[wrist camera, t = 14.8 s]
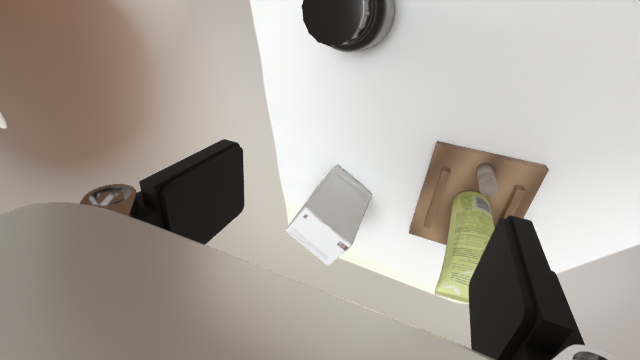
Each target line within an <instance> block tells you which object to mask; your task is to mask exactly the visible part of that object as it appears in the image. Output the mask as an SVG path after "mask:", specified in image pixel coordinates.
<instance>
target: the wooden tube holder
mask: <svg viewBox="0 0 640 360" xmlns="http://www.w3.org/2000/svg"><path fill="white" fill-rule="evenodd" d="M547 172H548V168H547V167H546V165H541V164H537V163H532V162H528V161H523V160H519V159H514V158H510V157H506V156H501V155H497V154H492V153H488V152H483V151H479V150H474V149H470V148H465V147H461V146H456V145H452V144H447V143H443V142H438V141H437V144H436V147H435V150H434V153H433V156H432V160H431V163H430V166H429V169H428V172H427V175H426V179H425V182H424V185H423V188H422V191H421V195H420V198H419V201H418V204H417V207H416V211H415V214H414V217H413V220H412V223H411V227H410V230H409V233H410V234H413V235H416V236H419V237H423V238H426V239H429V240H432V241H435V242H439V243H442V244H445V245H447V241H448V235H449V228H450V220H451V212H452V204H453V200H454V198H455V197H456V196H457V195H458V194H460V193H462V192H466V191H475V192H478V193H481V194H482V195H484V196H485V197H486V198H487V200H488V201H489V204H490V209H491V214H492V219H493V223H494V228H495V227H496V225H497V223H498V221H499V219H500V218H505V219H506V218H507V217H508V216H510V215H511V216H515V217H519V218H523V217H524V216H525V214H526V212H527V210H528V208H529V206H530V204H531V202H532V200H533V199H534V197H535V195H536V193H537V191H538V189H539V187H540V185H541V184H542V182H543V180H544V178H545V176H546V174H547Z"/></svg>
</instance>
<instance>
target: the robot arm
mask: <svg viewBox="0 0 640 360" xmlns="http://www.w3.org/2000/svg"><path fill="white" fill-rule="evenodd" d="M139 182H140V187H141V191H140V192H138V193H136V190H135V189H134V187H132V186H129V185H125V184H113V185H106V186H103V187H99V188H96V189H94V190H92V191H90V192H89V193H87V194H86V195H85V196H84V197H83V199H82V200H81V202H80V204H78V203H67V202H66V203H63V202H49V203H37V204H31V205H27V206H23V207H20V208H17V209H14V210H12V211H9V212H7V213H4V214H1V215H0V360H615V359H614V358H613V357H611V356H610V355H608V354H606V353H604V352H602V351H600V350H598V349H596V348H593V347H589V346H586V345H585V344H584V341H583V339H582V337H581V334H580V332H579V329H578V327H577V324H576V322H575V319H574V317H573V315H572V312H571V310H570V307H569V305H568V302H567V300H566V297H565V295H564V292H563V290H562V288H561V285H560V282H559V280H558V278H557V275H556V274H555V272H553V271H551V269H550V267H549V264H548V262H547V259H546V257H545V254H544V252H543V249H542V246H541V244H540V241H539V239H538V236H537V234H536V231H535V229H534V226H533V223H532V222H531V221H530V220H526V219H523V218H519V217H515V216H511V215H510V216H508V217H507V218H506V219H505V218H500V219H499V221H498V223H497V225H496V227H495V229H494V231H493V233H492V235H491V237H490V240H489V242H488V244H487V246H486V248H485V250H484V252H483V254H482V256H481V258H480V260H479V263H478V265H477V267H476V269H475V271H474V273H473V275H472V277H471V280H470V283H469V290H468V291H469V309H470V327H471V346H472V349H469V348H467V347H465V346H462V345H460V344H457V343H455V342H453V341H450V340H448V339H446V338H443V337H441V336H438V335H436V334H433V333H431V332H428V331H426V330H423V329H421V328H418V327H415V326H413V325H410V324H408V323H405V322H402V321H400V320H397V319H395V318H392V317H390V316H387V315H385V314H382V313H380V312H377V311H374V310H372V309H369V308H367V307H364V306H362V305H359V304H356V303H354V302H352V301H349V300H346V299H344V298H341V297H339V296H336V295H334V294H331V293H328V292H326V291H323V290H320V289H318V288H315V287H313V286H310V285H308V284H305V283H302V282H300V281H297V280H295V279H292V278H289V277H287V276H284V275H282V274H279V273H276V272H274V271H271V270H269V269H266V268H263V267H261V266H258V265H255V264H253V263H251V262H248V261H245V260H243V259H240V258H238V257H235V256H232V255H230V254H227V253H225V252H222V251H219V250H217V249H214V248H211V247H209V246H206V245H205V244H206V243H207V242H208V241H210V240H211V239H212V238H213V237H214V236H215V235H216V234H217V233H219V232H220V231H221V230H222V229H223V228H224V227H225V226H226V225H227V224H229V223H230V222H231V221H232V220H233V219H234V218H236V217H237V216H238V215H239V214H240V213H241V212H242V210H243V208H244V175H243V150H242V148H241V147H240V146H239V144H238V143H236V142H233V141H229V140H225V139H224V140H221V141H219V142H217V143H215V144H213V145H211V146H209V147H207V148H205V149H203V150H201V151H199V152H197V153H195V154H193V155H191V156H189V157H187V158H185V159H183V160H181V161H179V162H177V163H176V164H173V165H171V166H169V167H167V168H165V169H163V170H162V171H159V172H157V173H155V174H153V175H151V176H150V177H147V178H145V179H143V180H141V181H139Z"/></svg>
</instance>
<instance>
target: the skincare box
mask: <svg viewBox="0 0 640 360" xmlns="http://www.w3.org/2000/svg"><path fill="white" fill-rule="evenodd" d="M371 195H372V194H371V193H370V192H369V191H368V190H367V189H365V188H364V187H363V186H362V185H361V184H360V183H358V182H357V181H356V180H355V179H354V178H352V177H351V176H350V175H349V174H348V173H346V172H345V171H344V170H343V169H341V168H340V167H339V166H338V165H336V166H335V167H334V168H333V169H332V170H331V171H330V173H329V174H328V175H327V176H326V177H325V178H324V179H323V181H322V182H321V183H320V184H319V185H318V186H317V188H316V189H315V190H314V192H313V193H312V195H311V196H310V197H309V199H308V200H307V202H306V203H305V204H304V206H303V207H302V208H301V210H300V211H299V212H298V214H297V215H296V216H295V218H294V219H293V220H292V222H291V223H290V225H289V226H288V228H287V229H286V232H287V233H288V234H289V235H290V236H292V237H293V238H294V239H295V240H297V241H298V242H299V243H300V244H302V245H303V246H304V247H305V248H307V249H308V250H309V251H310V252H311V253H313V254H314V255H315V256H316V257H318V258H319V259H320V260H322V262H324V263H325V264H326V265H327V266H329V265H330V264H331V263H332V262H333V261H334V260H336V259H337V258H338V257H339V256H340V255H341V254H342V253H344V252H345V251H346V250H347V249H348V248H350V247H351V246H352V244H353V242H354V239H355V236H356V234H357V231H358V229H359V226H360V223H361V221H362V218H363V216H364V213H365V210H366V208H367V205H368V203H369V200H370V198H371Z"/></svg>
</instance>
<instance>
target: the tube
mask: <svg viewBox="0 0 640 360" xmlns="http://www.w3.org/2000/svg"><path fill="white" fill-rule="evenodd" d="M494 229H495V228H494V223H493V219H492V214H491V209H490V204H489V201H488V200H487V198H486V197H485V196H484V195H482V194H481V193H478V192H475V191H466V192H462V193H460V194H458V195H457V196H456V197H455V198H454V200H453V204H452V212H451V220H450V228H449V235H448V241H447V247H446V252H445V257H444V262H443V266H442V270H441V274H440V277H439V281H438V284H437V286H436V289H435V295H436V296H440V297H444V298H447V299H451V300H455V301H458V302H462V303H465V304H469V291H468V290H469V283H470V280H471V277H472V275H473V273H474V271H475V269H476V267H477V265H478V263H479V260H480V258H481V256H482V254H483V252H484V250H485V248H486V246H487V244H488V242H489V240H490V237H491V235H492V233H493V231H494Z"/></svg>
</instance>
